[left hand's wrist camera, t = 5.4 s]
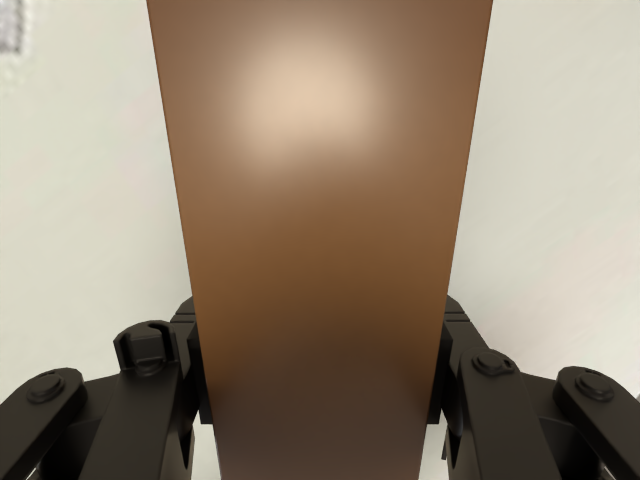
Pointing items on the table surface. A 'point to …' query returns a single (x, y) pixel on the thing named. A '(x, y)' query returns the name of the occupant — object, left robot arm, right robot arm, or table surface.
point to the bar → (319, 217)
